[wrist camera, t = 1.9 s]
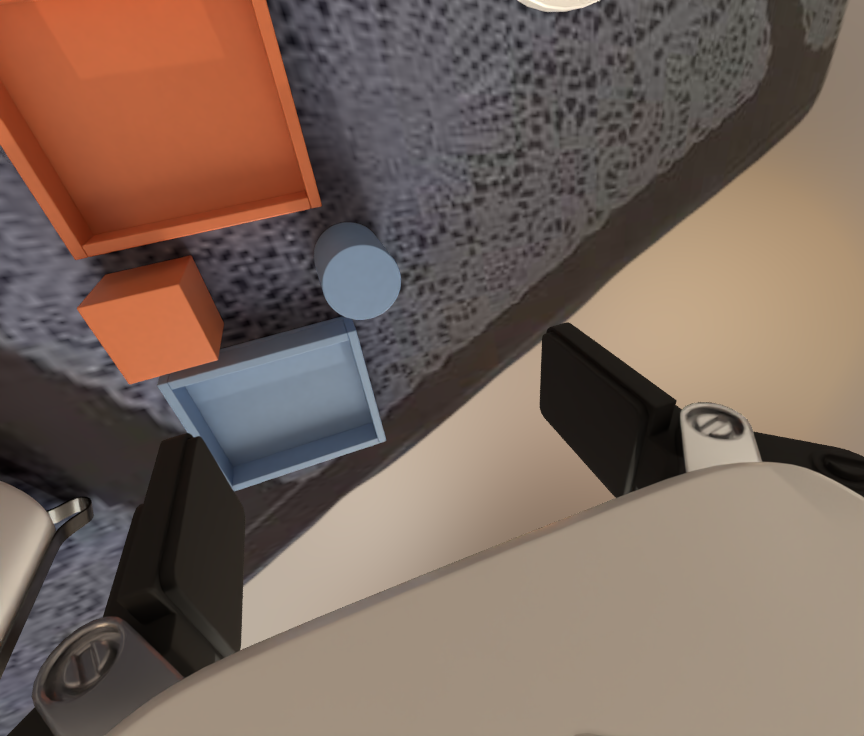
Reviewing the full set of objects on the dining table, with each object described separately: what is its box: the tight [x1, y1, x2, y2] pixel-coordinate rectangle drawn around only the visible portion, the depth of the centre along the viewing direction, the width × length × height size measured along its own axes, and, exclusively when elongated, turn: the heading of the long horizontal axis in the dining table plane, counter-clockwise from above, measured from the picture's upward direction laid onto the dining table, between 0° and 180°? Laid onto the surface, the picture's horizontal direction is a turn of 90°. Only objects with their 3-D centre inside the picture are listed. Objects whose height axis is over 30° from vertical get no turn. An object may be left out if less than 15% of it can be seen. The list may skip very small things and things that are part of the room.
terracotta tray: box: [0, 0, 322, 260], centre depth 20 cm, size 12×10×2 cm
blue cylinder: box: [314, 222, 401, 320], centre depth 25 cm, size 4×4×5 cm
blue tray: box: [157, 316, 386, 491], centre depth 30 cm, size 12×10×2 cm
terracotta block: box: [77, 256, 224, 384], centre depth 23 cm, size 5×5×5 cm
